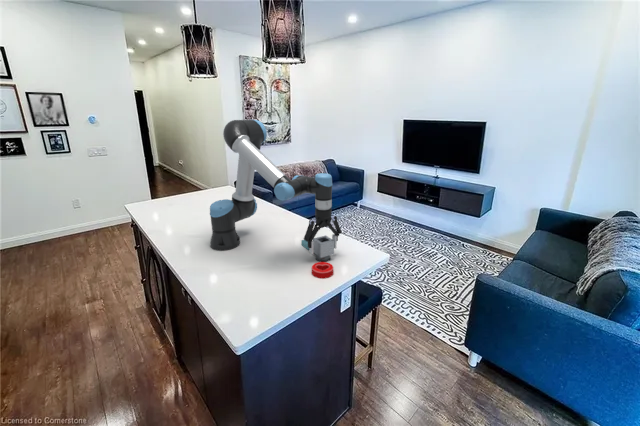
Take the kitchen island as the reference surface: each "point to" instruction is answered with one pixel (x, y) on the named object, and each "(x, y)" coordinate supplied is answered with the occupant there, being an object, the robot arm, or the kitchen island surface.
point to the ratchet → (323, 259)
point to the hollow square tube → (323, 246)
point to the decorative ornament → (322, 270)
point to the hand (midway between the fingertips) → (323, 250)
